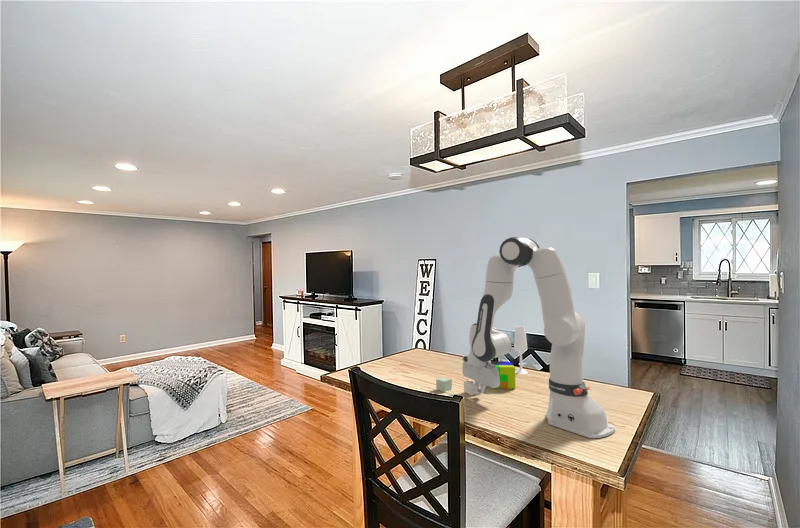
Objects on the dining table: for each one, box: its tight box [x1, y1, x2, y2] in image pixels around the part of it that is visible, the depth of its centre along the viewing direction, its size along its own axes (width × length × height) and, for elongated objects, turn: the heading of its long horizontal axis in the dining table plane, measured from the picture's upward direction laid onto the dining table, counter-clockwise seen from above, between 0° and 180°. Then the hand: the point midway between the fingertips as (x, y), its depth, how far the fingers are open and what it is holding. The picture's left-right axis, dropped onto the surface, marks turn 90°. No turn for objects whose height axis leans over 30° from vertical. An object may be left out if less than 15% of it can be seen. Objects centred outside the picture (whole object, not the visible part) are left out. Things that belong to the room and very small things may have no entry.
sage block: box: [435, 376, 453, 393], centre depth 167 cm, size 5×5×5 cm
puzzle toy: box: [491, 360, 516, 390], centre depth 172 cm, size 10×10×10 cm
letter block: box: [463, 379, 481, 396], centre depth 162 cm, size 5×5×5 cm
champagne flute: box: [513, 325, 528, 375], centre depth 192 cm, size 7×7×24 cm
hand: (480, 392), depth 157 cm, fingers closed
